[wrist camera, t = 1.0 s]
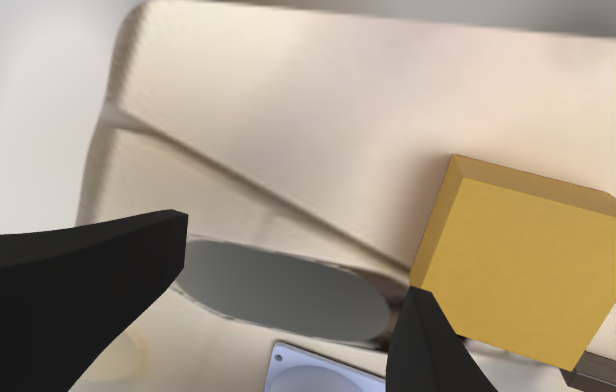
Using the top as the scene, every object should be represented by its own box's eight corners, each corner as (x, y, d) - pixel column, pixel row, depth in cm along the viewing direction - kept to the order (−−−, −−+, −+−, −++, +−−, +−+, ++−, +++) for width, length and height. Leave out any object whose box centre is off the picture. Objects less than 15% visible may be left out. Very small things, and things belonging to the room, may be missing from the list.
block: (542, 314, 20) (571, 372, 16) (409, 273, 21) (408, 318, 17) (609, 193, 17) (662, 229, 13) (452, 153, 18) (462, 176, 15)
